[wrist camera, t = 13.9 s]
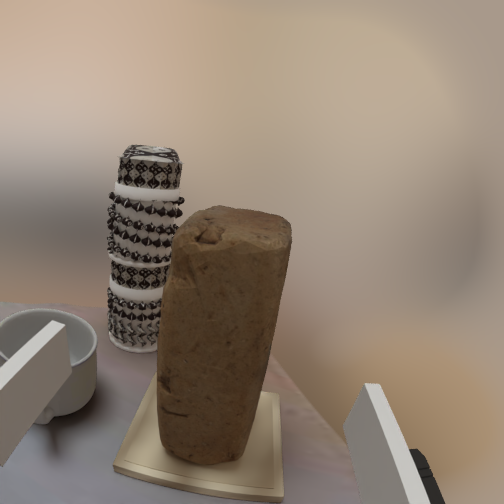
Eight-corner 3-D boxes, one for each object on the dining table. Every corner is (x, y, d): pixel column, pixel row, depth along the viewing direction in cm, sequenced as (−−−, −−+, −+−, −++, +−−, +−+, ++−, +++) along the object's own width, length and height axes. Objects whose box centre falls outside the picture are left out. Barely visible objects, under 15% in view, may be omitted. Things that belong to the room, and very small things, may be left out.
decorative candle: (175, 355, 38) (198, 151, 31) (104, 353, 35) (111, 142, 28) (167, 320, 46) (186, 151, 39) (108, 317, 43) (118, 143, 36)
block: (237, 481, 20) (299, 242, 15) (150, 455, 21) (153, 213, 16) (257, 402, 30) (301, 214, 25) (189, 384, 31) (212, 196, 26)
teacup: (29, 357, 29) (18, 299, 27) (109, 371, 32) (106, 312, 30) (-11, 439, 16) (-42, 375, 14) (92, 466, 19) (74, 406, 17)
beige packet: (114, 471, 19) (112, 463, 19) (156, 378, 33) (156, 370, 32) (280, 502, 19) (284, 496, 19) (276, 400, 33) (279, 392, 33)
